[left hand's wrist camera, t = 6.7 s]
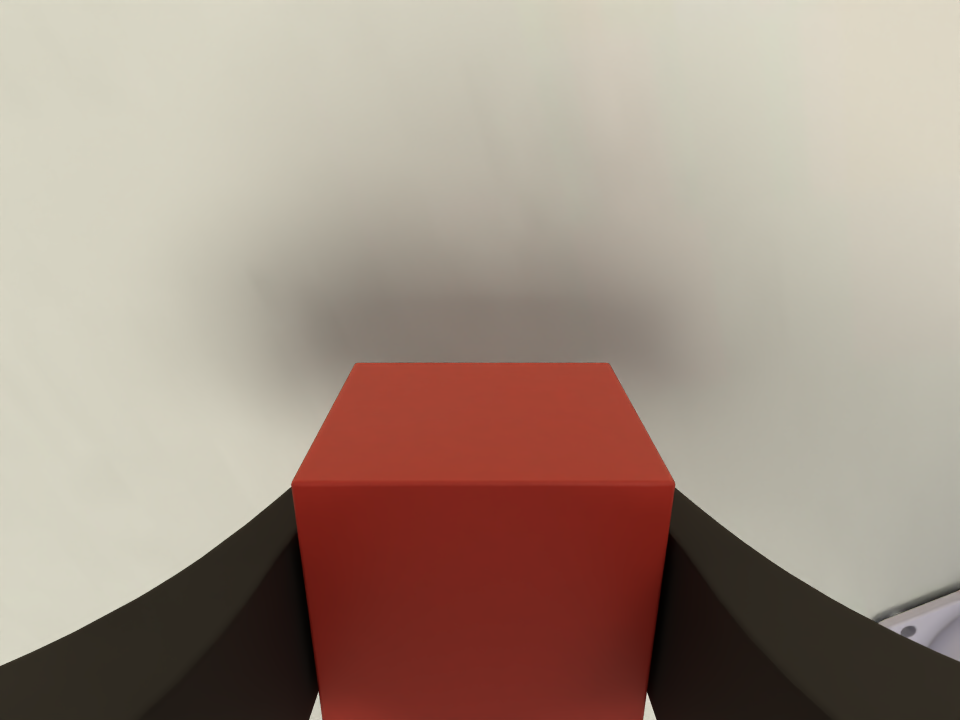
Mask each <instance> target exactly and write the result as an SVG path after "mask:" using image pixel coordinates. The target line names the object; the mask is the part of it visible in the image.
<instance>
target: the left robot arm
mask: <svg viewBox="0 0 960 720" xmlns="http://www.w3.org/2000/svg"><path fill="white" fill-rule="evenodd" d="M318 691H319V690H318V682H317V675H316V667H315V660H314V652H313V644H312V637H311V629H310V622H309V614H308V607H307V599H306V592H305V584H304V577H303V569H302V562H301V554H300V547H299V539H298V532H297V524H296V517H295V509H294V502H293V494H292V487H291V488H289V489H288V490H287V491H286V492H285V493H284V494H282V495H281V496H280V497H279V498H278V499H277V500H275V501H274V502H273V503H272V504H270V505H269V506H268V507H267V508H266V509H264V510H263V511H262V512H261V513H259V514H258V515H257V516H256V517H255V518H253V519H252V520H251V521H250V522H248V523H247V524H246V525H245V526H243V527H242V528H241V529H239V530H238V531H237V532H235V533H234V534H233V535H231V536H230V537H229V538H227V539H226V540H225V541H223V542H222V543H220V544H219V545H218V546H216V547H215V548H214V549H212V550H211V551H210V552H208V553H207V554H206V555H204V556H203V557H202V558H200V559H199V560H197V561H196V562H194V563H193V564H191V565H190V566H188V567H187V568H185V569H184V570H182V571H181V572H179V573H178V574H176V575H175V576H173V577H171V578H170V579H168V580H167V581H165V582H163V583H162V584H160V585H158V586H157V587H155V588H154V589H152V590H150V591H149V592H147V593H145V594H144V595H142V596H140V597H138V598H137V599H135V600H133V601H131V602H129V603H128V604H126V605H124V606H122V607H120V608H118V609H116V610H115V611H113V612H111V613H109V614H107V615H105V616H103V617H101V618H100V619H98V620H96V621H94V622H92V623H90V624H88V625H86V626H85V627H83V628H81V629H79V630H77V631H75V632H73V633H71V634H69V635H67V636H65V637H63V638H61V639H59V640H57V641H54V642H52V643H50V644H48V645H46V646H44V647H42V648H40V649H38V650H35V651H33V652H31V653H29V654H27V655H24V656H22V657H20V658H18V659H15V660H13V661H11V662H8V663H6V664H4V665H2V666H0V720H309V718H310V715H311V712H312V709H313V706H314V703H315V700H316V697H317V694H318ZM647 693H648V696H649V699H650V702H651V705H652V708H653V711H654V713H655V716H656V719H657V720H960V590H959V591H956V592H954V593H951V594H948V595H946V596H943V597H941V598H938V599H936V600H933V601H930V602H928V603H925V604H923V605H920V606H918V607H915V608H913V609H910V610H907V611H905V612H902V613H900V614H897V615H895V616H892V617H890V618H887V619H884V620H882V621H880V622H879V623H876V622H875V621H873V620H871V619H869V618H867V617H865V616H863V615H861V614H859V613H857V612H855V611H853V610H851V609H849V608H848V607H846V606H844V605H842V604H840V603H839V602H837V601H835V600H833V599H831V598H830V597H828V596H826V595H825V594H823V593H821V592H820V591H818V590H816V589H815V588H813V587H811V586H810V585H808V584H806V583H805V582H803V581H801V580H800V579H798V578H796V577H795V576H793V575H791V574H790V573H788V572H787V571H785V570H784V569H782V568H781V567H779V566H777V565H776V564H774V563H773V562H771V561H770V560H769V559H767V558H766V557H764V556H763V555H761V554H760V553H759V552H757V551H756V550H754V549H753V548H752V547H750V546H749V545H747V544H746V543H744V542H743V541H742V540H740V539H739V538H738V537H736V536H735V535H734V534H732V533H731V532H730V531H728V530H727V529H726V528H724V527H723V526H722V525H720V524H719V523H718V522H717V521H715V520H714V519H713V518H712V517H710V516H709V515H708V514H707V513H705V512H704V511H703V510H702V509H700V508H699V507H698V506H697V505H695V504H694V503H693V502H692V501H691V500H689V499H688V498H687V497H686V496H685V495H683V494H682V493H681V492H680V491H679V490H677V489H676V488H675V490H674V497H673V505H672V512H671V519H670V527H669V534H668V541H667V548H666V556H665V563H664V570H663V578H662V585H661V592H660V599H659V607H658V614H657V621H656V629H655V636H654V643H653V650H652V658H651V665H650V672H649V680H648V687H647Z"/></svg>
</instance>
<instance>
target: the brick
mask: <svg viewBox="0 0 960 720" xmlns="http://www.w3.org/2000/svg"><path fill="white" fill-rule="evenodd" d="M291 486H292V494H293V502H294V509H295V517H296V524H297V532H298V539H299V547H300V554H301V562H302V569H303V577H304V584H305V592H306V599H307V607H308V614H309V622H310V629H311V637H312V644H313V652H314V660H315V667H316V675H317V682H318V690H319V697H320V705H321V712H322V720H643V716H644V709H645V702H646V694H647V687H648V680H649V672H650V665H651V658H652V650H653V643H654V636H655V629H656V621H657V614H658V607H659V599H660V592H661V585H662V578H663V570H664V563H665V556H666V548H667V541H668V534H669V527H670V519H671V512H672V505H673V497H674V490H675V482H674V480H673V478H672V476H671V474H670V473H669V471H668V469H667V467H666V465H665V464H664V462H663V460H662V458H661V456H660V455H659V453H658V451H657V449H656V447H655V445H654V444H653V442H652V440H651V438H650V436H649V435H648V433H647V431H646V429H645V427H644V426H643V424H642V422H641V420H640V418H639V416H638V415H637V413H636V411H635V409H634V407H633V406H632V404H631V402H630V400H629V398H628V397H627V395H626V393H625V391H624V389H623V387H622V386H621V384H620V382H619V380H618V378H617V377H616V375H615V373H614V371H613V369H612V368H611V366H610V364H609V363H356V364H355V365H354V367H353V368H352V370H351V372H350V374H349V376H348V378H347V380H346V382H345V383H344V385H343V387H342V389H341V391H340V393H339V395H338V397H337V398H336V400H335V402H334V404H333V406H332V408H331V410H330V412H329V413H328V415H327V417H326V419H325V421H324V423H323V425H322V426H321V428H320V430H319V432H318V434H317V436H316V438H315V440H314V441H313V443H312V445H311V447H310V449H309V451H308V453H307V455H306V456H305V458H304V460H303V462H302V464H301V466H300V468H299V470H298V471H297V473H296V475H295V477H294V479H293V481H292V483H291Z"/></svg>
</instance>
